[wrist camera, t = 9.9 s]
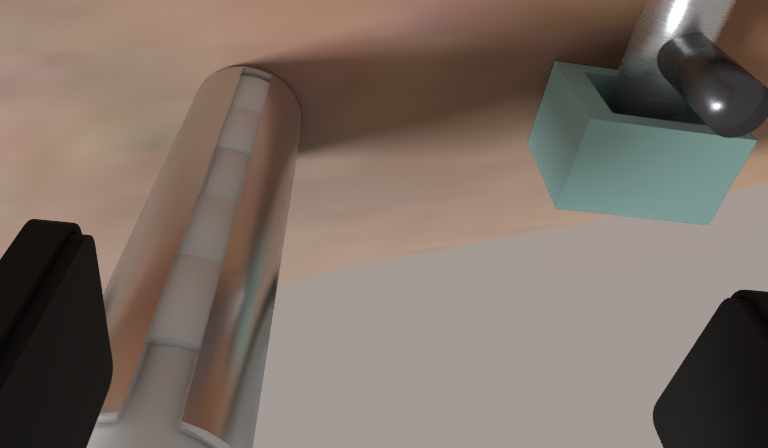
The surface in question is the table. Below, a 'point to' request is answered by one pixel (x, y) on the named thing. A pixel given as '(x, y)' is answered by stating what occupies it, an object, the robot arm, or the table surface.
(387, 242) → the table surface
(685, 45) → the slip tube
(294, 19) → the table surface
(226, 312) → the grey cylinder
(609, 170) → the socket block
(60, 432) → the robot arm
